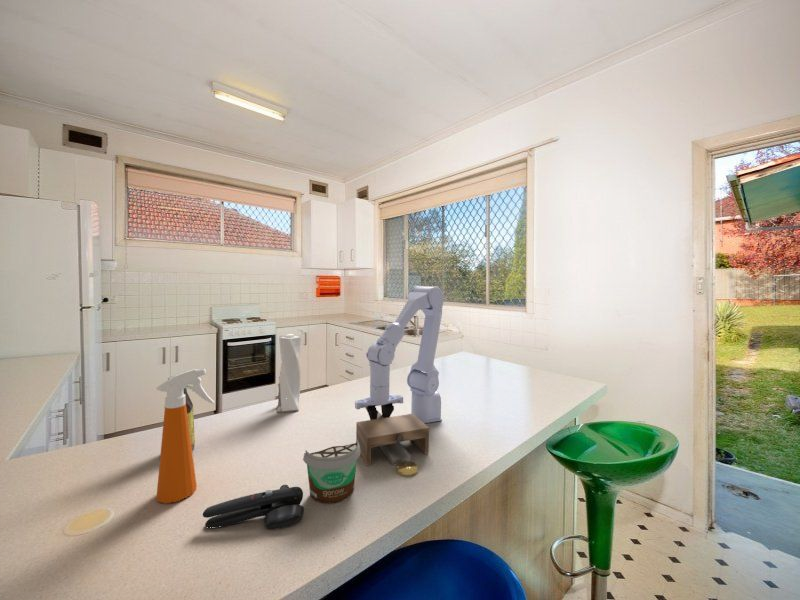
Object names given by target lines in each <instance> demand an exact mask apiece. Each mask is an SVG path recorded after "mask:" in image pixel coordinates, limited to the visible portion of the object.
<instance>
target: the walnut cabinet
mask: <svg viewBox="0 0 800 600" xmlns="http://www.w3.org/2000/svg"><path fill="white" fill-rule="evenodd" d="M355 423H356V427H355V428H356V431H355V433H356V437H355V438H356V439H357V440H358V443H359V446H360V451H361V453H360V456H361V459H362V460H363V462H364V463H365V465H366V467H368V466H371V465H372V448H375V447H379V446H381V445H387V444H392V443H398V442H400V443H403V442H408V441H412V442H413V443H414V444H415V445H416V446H417V447H418V448H419V449H420V450H421V451H422V452H423V453H424V455H426V454H429V452H430V451H429V448H430V445H429V443H430V427H429V426H428V425H427V423H423V422H422V421H421V420H420V419H419V418H418V417H416V416H415V415H414V414H411V413H407V414H402V415H396V416H395V415H393V416H390V417H387V418H381V419H374V420H370V419H368V420H362V421H357V422H355ZM356 439H355V440H356Z"/></svg>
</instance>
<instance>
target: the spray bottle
mask: <svg viewBox="0 0 800 600" xmlns="http://www.w3.org/2000/svg"><path fill="white" fill-rule="evenodd" d="M204 375H207V371H206V368H194V369H190V370H187V371H184V372H182V373H179V374H177V375H173V376H174V377H172V376H171V377H172V378H170V379H168V378H167V380H165V381H163V383H161V384H160V385H158V386H157V387H156V390H157V391H159V392H164V393H166V397H164V415H163V425H162V433H161V436H162V437H161V443H160V445H161V447H160V455H159V466H158V475H157V476H158V478H157V488H156V500H157V502H158V503H161V502H163V503H162V504H172V503H171V502H174V503H177V502H176V501H178V502H180V500H181V501H183V500H185V499H184V498H186V499H188V498H189V497H190V496H192V495H193V494H195V492H194V491H196V490H197V477H196V470H195V461H194V455H193V450H192V446H191V439H190V431H189V424H188V416H187V409H186V398H185V394H184V389H185V388H186V389H187V390H192V392H193V393H195V394H196V395H198V396H199V397H200V398H201V399H203V400H204V401H206V402H208V403H210V404H214V403H215V401H214V399H212V398H211V397H210V395H208V392H206V390H205V389H204V387H203V386H202V378H200V377H202V376H204ZM191 494H192V495H191ZM188 496H189V497H188ZM182 499H183V500H182Z"/></svg>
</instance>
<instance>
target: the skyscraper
mask: <svg viewBox="0 0 800 600" xmlns="http://www.w3.org/2000/svg"><path fill="white" fill-rule="evenodd" d="M295 332H301V333H300V336H298V335H297V336H295V335H296V334H294V333H295ZM302 336H303V330H302V329H295V330H294V329H293V331H291V332H290V333H288V334H285V335H279V336H278V337H279V338H278V341H279V342H278V343H279V351H280V352H279V353H280V360H281V364H280V372H279V376H278V377H279V378H278V379H279V380H278V381H279V382H278V384H277V387H278V392H277V393H278V394H277V401H278V402H277V409H276V413H277V414H282V413H283V414H284V413H293V412H299V403H300V394H301V381H302V380H301V378H302V377H301V367H300V362H299V358H300V351H301V342H302ZM286 398H287V399H286Z"/></svg>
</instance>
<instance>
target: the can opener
mask: <svg viewBox="0 0 800 600" xmlns="http://www.w3.org/2000/svg"><path fill="white" fill-rule="evenodd" d="M303 499H304V491H303V489H302V488H301V487H300V486H291V487H289V485H288V484H285V483H284V484H282V485H280V487H279V489H273V490H271V489H266V490H265V491H262V492H258V493H253V494H248V495H244V496H240V497H238V498H233V499H229V500H226V501H224V502H219V503H217V504H214V505H212V506H208V507H206V508H205V510H204V511H203V513H202V517H203V518H208V519H207V521H205V524H204V525H205V526H206V527H208V528H210V527H211V528H212V527H218V528H220V527H219V526H224V527H228V526H232V525H236V524H239V523H242V522H246V521H249V520H252V519H255V518H260V517H263V519H264V521H263V522H264V526H265V528H266V529H269V530H276V529H275V528H279V529H284V528H287V526H288V527H290V526H293V525H295V524H296V523H298V522H300V521H301V520H302V518H303V516H304V511H305V508H304V506H303V505H301V503H302V501H303ZM227 525H228V526H227ZM205 526H204V527H205ZM206 527H205V528H206ZM283 527H284V528H283ZM208 528H207V529H208ZM212 529H213V528H212Z"/></svg>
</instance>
